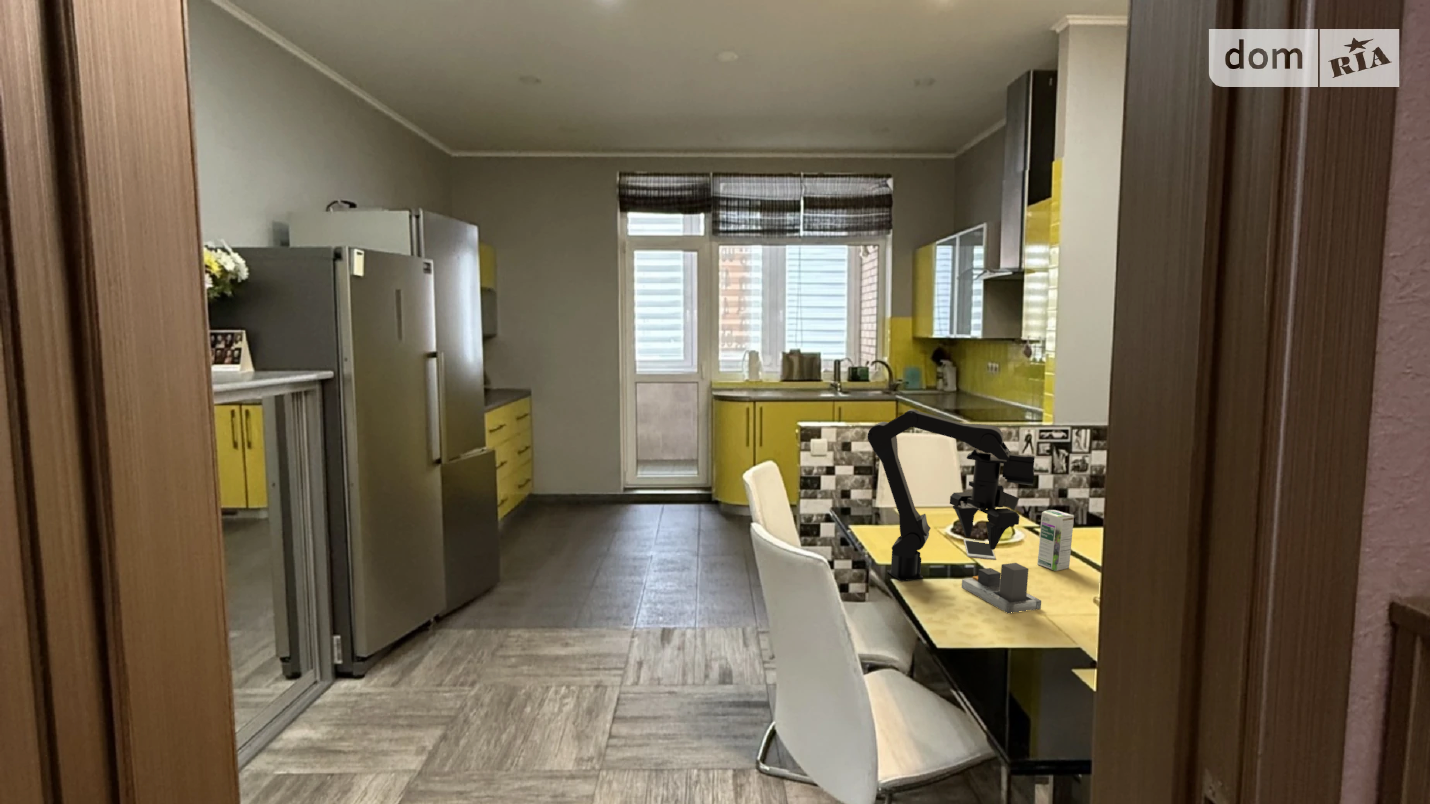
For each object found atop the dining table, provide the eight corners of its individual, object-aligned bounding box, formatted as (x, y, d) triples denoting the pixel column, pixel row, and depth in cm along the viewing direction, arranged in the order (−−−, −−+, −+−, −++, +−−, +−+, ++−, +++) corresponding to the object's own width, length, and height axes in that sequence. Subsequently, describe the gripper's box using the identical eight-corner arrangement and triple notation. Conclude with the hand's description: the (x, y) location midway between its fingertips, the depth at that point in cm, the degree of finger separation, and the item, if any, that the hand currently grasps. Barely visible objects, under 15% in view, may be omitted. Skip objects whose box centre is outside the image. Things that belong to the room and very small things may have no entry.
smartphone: (989, 543, 212) (989, 540, 212) (995, 561, 197) (995, 557, 197) (963, 541, 214) (963, 538, 213) (967, 558, 199) (967, 555, 199)
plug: (1011, 608, 164) (1013, 570, 163) (998, 602, 168) (1001, 564, 167) (1025, 606, 166) (1028, 568, 165) (1013, 600, 169) (1016, 562, 168)
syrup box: (1036, 564, 194) (1040, 511, 192) (1051, 561, 196) (1055, 508, 195) (1055, 571, 189) (1059, 517, 187) (1070, 568, 191) (1075, 514, 190)
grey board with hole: (1008, 613, 162) (1009, 592, 161) (961, 587, 177) (962, 567, 176) (1040, 609, 165) (1042, 587, 164) (992, 583, 180) (993, 563, 179)
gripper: (1042, 488, 167) (1035, 554, 169) (989, 469, 184) (983, 529, 186) (1001, 490, 163) (994, 557, 166) (951, 470, 181) (945, 531, 183)
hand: (979, 542), depth 175 cm, fingers open, 9 cm apart
